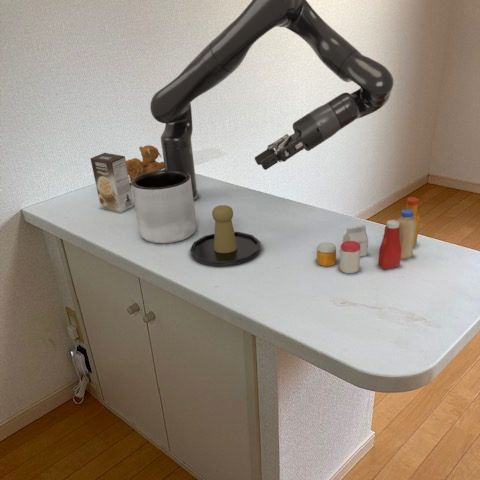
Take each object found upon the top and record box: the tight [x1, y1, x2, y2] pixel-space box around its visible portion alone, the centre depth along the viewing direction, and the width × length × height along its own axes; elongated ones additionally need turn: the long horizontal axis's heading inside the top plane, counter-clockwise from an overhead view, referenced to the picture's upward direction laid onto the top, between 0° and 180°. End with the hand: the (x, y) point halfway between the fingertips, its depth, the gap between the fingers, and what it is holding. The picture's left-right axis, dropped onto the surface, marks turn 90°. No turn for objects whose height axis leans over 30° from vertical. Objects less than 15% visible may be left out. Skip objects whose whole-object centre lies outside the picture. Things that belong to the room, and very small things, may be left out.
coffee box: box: [90, 152, 134, 213], centre depth 160 cm, size 9×6×16 cm
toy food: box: [316, 196, 421, 274], centre depth 121 cm, size 27×13×12 cm, turn 104°
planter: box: [130, 169, 198, 244], centre depth 140 cm, size 16×16×16 cm
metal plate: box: [190, 231, 262, 268], centre depth 133 cm, size 18×18×1 cm
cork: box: [211, 204, 237, 253], centre depth 130 cm, size 6×6×11 cm
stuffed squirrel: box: [126, 144, 165, 183], centre depth 177 cm, size 10×14×13 cm
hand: (259, 164), depth 126 cm, fingers open, 8 cm apart
